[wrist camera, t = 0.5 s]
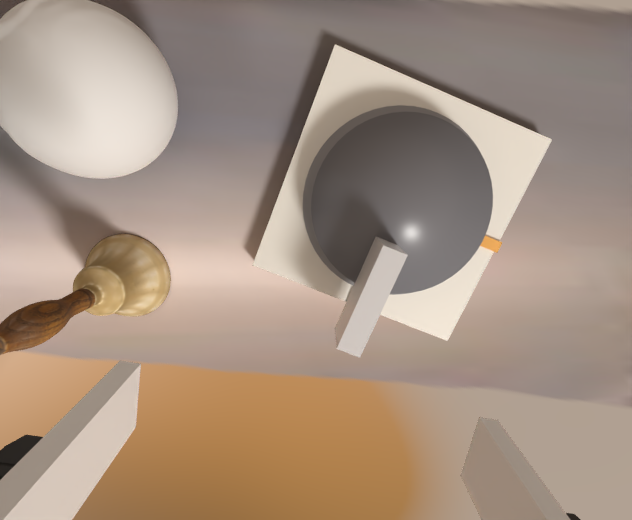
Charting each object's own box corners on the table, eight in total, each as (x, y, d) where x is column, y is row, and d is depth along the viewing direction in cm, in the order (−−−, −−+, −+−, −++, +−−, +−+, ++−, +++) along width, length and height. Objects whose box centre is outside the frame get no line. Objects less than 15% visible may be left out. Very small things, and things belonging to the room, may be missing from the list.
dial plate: (254, 262, 37) (251, 266, 35) (334, 49, 33) (335, 43, 31) (444, 335, 39) (449, 343, 37) (544, 141, 34) (555, 140, 33)
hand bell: (78, 236, 37) (-100, 285, 21) (163, 230, 37) (47, 275, 21) (95, 318, 39) (-56, 417, 23) (177, 312, 38) (79, 409, 23)
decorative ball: (106, 1, 32) (-16, -95, 21) (224, 94, 34) (173, 54, 22) (38, 121, 34) (-106, 96, 23) (152, 203, 36) (71, 219, 24)
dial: (351, 86, 32) (358, 67, 26) (514, 156, 33) (555, 153, 27) (269, 295, 36) (259, 319, 30) (416, 351, 37) (433, 385, 31)
